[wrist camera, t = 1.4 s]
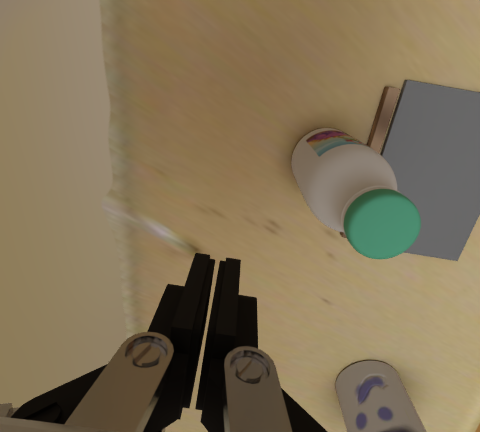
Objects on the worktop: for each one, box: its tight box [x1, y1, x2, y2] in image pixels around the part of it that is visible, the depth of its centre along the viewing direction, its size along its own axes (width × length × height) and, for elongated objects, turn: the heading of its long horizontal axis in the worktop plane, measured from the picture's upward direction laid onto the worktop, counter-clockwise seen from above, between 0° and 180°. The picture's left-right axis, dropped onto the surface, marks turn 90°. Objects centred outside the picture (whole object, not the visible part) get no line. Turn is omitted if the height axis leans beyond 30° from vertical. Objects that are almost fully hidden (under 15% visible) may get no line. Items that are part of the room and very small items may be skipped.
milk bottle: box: [291, 128, 421, 259], centre depth 30 cm, size 8×8×20 cm
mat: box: [381, 80, 480, 261], centre depth 39 cm, size 20×14×1 cm
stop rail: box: [340, 87, 400, 238], centre depth 39 cm, size 18×1×1 cm, turn 171°
